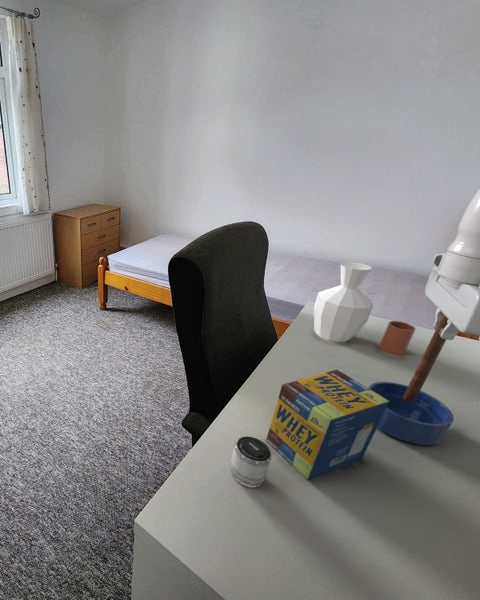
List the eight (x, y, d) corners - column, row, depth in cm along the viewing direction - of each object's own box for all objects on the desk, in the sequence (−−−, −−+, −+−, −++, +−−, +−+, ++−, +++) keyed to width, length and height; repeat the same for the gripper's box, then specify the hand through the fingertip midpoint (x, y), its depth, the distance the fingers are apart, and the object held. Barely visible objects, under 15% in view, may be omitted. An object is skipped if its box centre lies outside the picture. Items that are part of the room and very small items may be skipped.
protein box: (264, 440, 74) (280, 383, 68) (317, 423, 78) (337, 368, 72) (307, 481, 65) (330, 420, 59) (364, 459, 69) (392, 400, 63)
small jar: (241, 456, 70) (248, 428, 67) (270, 479, 66) (279, 450, 62) (222, 471, 67) (228, 442, 64) (251, 496, 63) (259, 466, 59)
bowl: (428, 412, 81) (439, 392, 78) (452, 456, 69) (466, 435, 67) (355, 394, 87) (362, 375, 84) (366, 432, 76) (375, 411, 73)
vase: (300, 336, 113) (321, 265, 102) (313, 322, 122) (334, 255, 111) (352, 354, 103) (381, 277, 93) (362, 337, 112) (390, 265, 101)
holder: (400, 348, 105) (412, 323, 102) (406, 358, 101) (418, 332, 97) (376, 344, 108) (386, 319, 104) (380, 353, 103) (391, 328, 99)
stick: (412, 398, 76) (457, 310, 67) (415, 403, 74) (461, 315, 65) (401, 395, 77) (443, 308, 67) (403, 401, 75) (447, 313, 66)
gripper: (532, 292, 53) (489, 365, 59) (473, 256, 69) (443, 316, 75) (476, 285, 56) (440, 356, 61) (432, 252, 72) (406, 311, 78)
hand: (441, 334), depth 68 cm, fingers closed on stick, 2 cm apart
